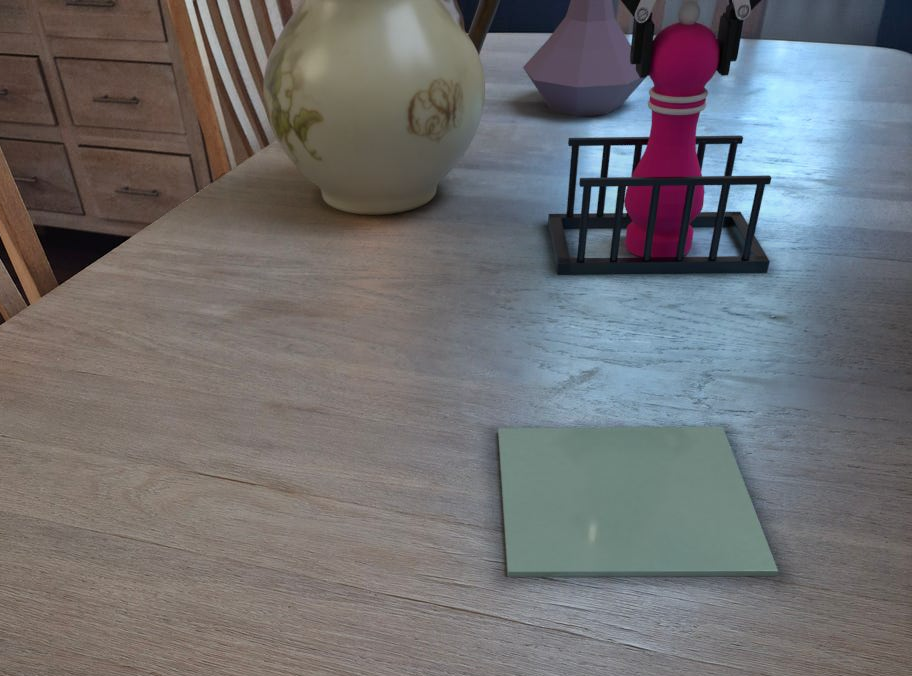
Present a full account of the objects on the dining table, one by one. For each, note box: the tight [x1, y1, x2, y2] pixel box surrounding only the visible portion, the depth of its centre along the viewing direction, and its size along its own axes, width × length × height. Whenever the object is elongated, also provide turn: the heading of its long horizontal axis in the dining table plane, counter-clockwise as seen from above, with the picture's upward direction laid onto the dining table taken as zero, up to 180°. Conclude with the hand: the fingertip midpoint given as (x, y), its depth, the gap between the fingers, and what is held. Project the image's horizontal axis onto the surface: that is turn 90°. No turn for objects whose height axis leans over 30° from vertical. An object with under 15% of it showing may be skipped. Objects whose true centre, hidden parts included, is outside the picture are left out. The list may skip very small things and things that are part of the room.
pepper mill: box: [624, 0, 720, 257], centre depth 85 cm, size 7×7×20 cm
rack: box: [547, 135, 772, 276], centre depth 89 cm, size 19×12×8 cm, turn 89°
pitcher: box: [262, 0, 501, 216], centre depth 95 cm, size 22×24×25 cm
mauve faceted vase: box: [522, 0, 646, 118], centre depth 119 cm, size 16×16×20 cm
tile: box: [497, 426, 779, 578], centre depth 62 cm, size 16×16×1 cm
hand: (681, 70), depth 81 cm, fingers closed on pepper mill, 6 cm apart
